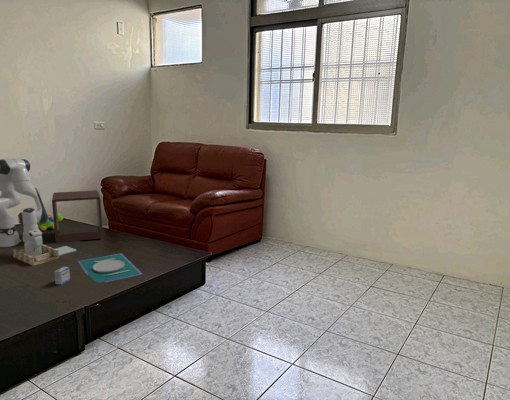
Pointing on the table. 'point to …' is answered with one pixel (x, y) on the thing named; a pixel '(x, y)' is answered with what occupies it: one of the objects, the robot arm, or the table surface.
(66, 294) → the table surface
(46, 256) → the birch offcut
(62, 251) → the sage board
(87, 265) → the place mat
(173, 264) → the table surface
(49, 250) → the frame
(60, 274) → the medicine box
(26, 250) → the photo printer
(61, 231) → the storage cube
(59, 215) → the turtle toy
